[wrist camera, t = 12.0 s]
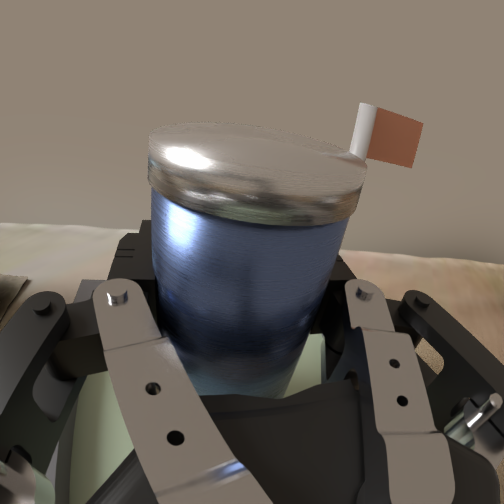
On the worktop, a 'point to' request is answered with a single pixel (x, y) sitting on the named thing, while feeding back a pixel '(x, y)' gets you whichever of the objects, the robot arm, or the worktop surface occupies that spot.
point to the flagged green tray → (99, 385)
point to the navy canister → (244, 247)
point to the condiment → (9, 290)
